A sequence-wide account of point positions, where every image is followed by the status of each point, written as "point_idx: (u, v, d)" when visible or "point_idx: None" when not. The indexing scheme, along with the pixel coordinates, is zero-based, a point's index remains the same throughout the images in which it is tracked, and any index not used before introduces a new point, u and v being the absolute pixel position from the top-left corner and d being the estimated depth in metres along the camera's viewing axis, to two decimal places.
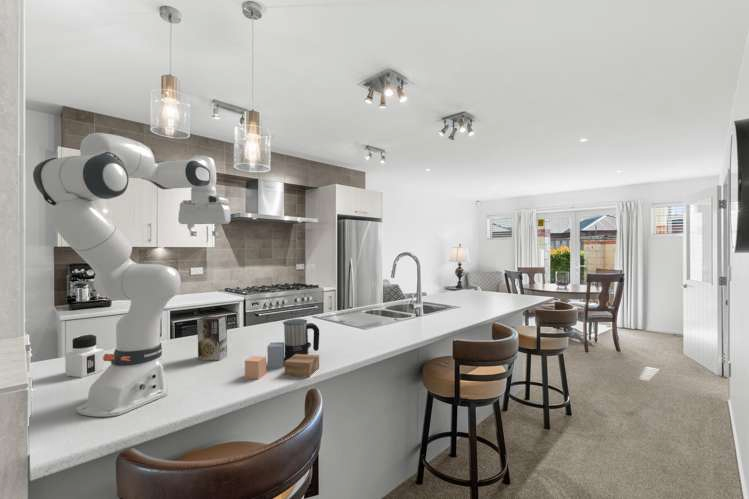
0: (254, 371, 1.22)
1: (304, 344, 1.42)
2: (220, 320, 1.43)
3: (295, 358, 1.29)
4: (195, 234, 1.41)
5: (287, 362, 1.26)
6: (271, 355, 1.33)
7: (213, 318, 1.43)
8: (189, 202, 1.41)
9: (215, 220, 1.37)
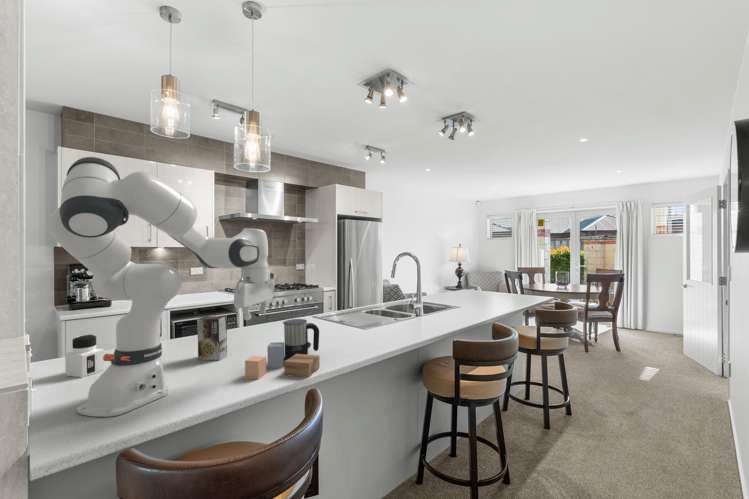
0: (254, 371, 1.22)
1: (304, 344, 1.42)
2: (220, 320, 1.43)
3: (295, 358, 1.29)
4: None
5: (287, 362, 1.26)
6: (271, 355, 1.33)
7: (213, 318, 1.43)
8: (246, 280, 1.19)
9: (268, 297, 1.30)
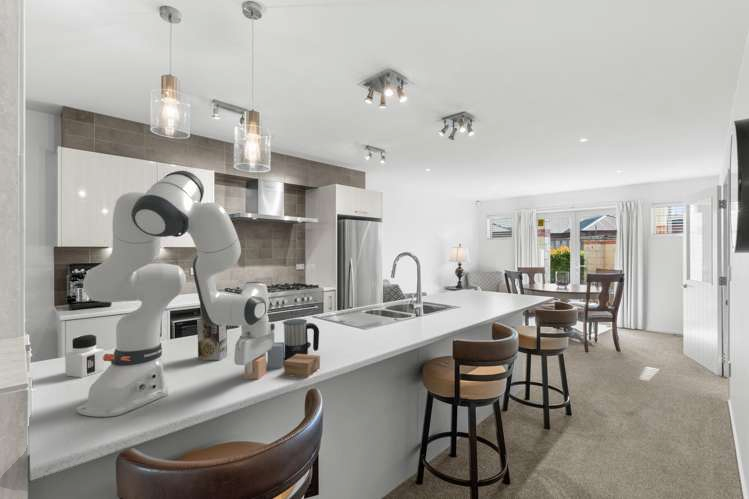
0: (254, 371, 1.22)
1: (304, 344, 1.42)
2: None
3: (296, 358, 1.29)
4: None
5: (286, 362, 1.26)
6: (271, 355, 1.33)
7: None
8: (247, 336, 1.19)
9: (268, 348, 1.31)
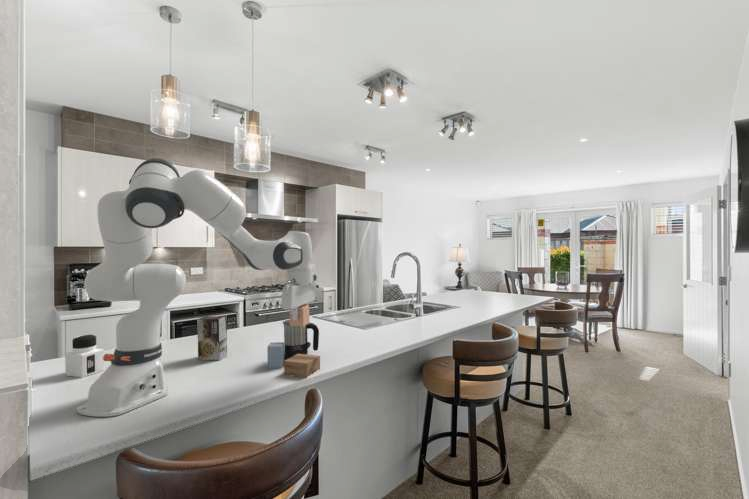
0: (299, 318, 1.24)
1: (304, 344, 1.42)
2: (220, 320, 1.43)
3: (296, 357, 1.30)
4: None
5: (286, 361, 1.26)
6: (271, 355, 1.33)
7: (213, 318, 1.43)
8: (292, 282, 1.21)
9: (311, 299, 1.32)
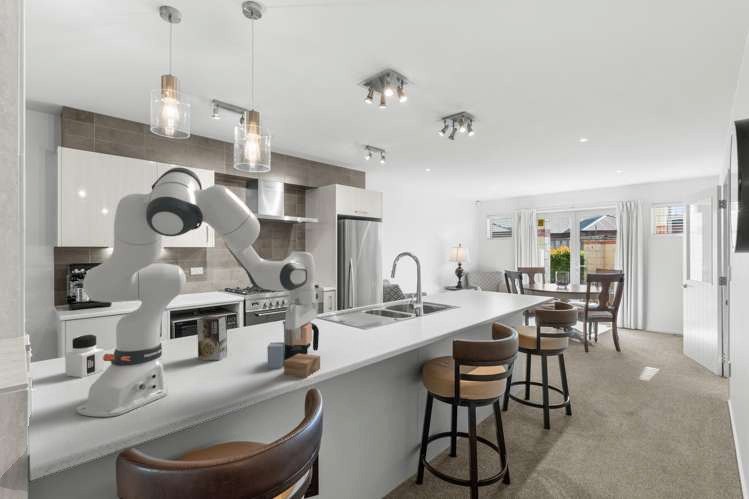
0: (302, 337, 1.26)
1: None
2: (220, 320, 1.43)
3: (296, 357, 1.30)
4: None
5: (286, 361, 1.26)
6: (271, 355, 1.33)
7: (213, 318, 1.43)
8: (296, 302, 1.22)
9: (313, 317, 1.34)
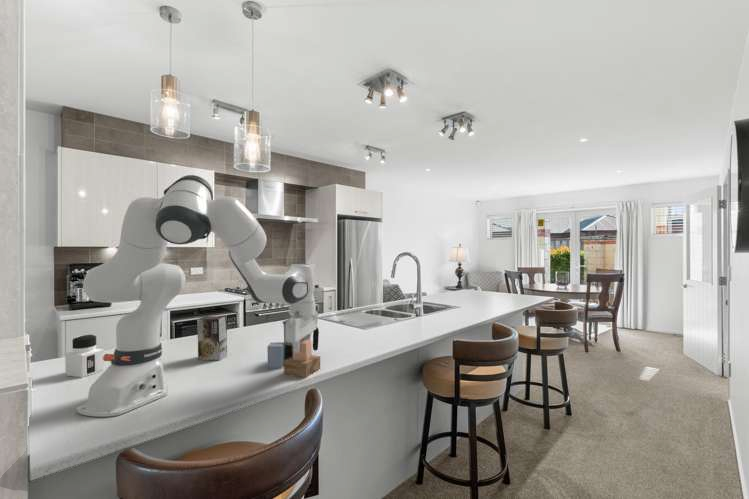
0: (302, 353, 1.26)
1: None
2: (220, 320, 1.43)
3: None
4: None
5: (286, 361, 1.26)
6: (271, 355, 1.33)
7: (213, 318, 1.43)
8: (296, 315, 1.23)
9: (313, 329, 1.34)
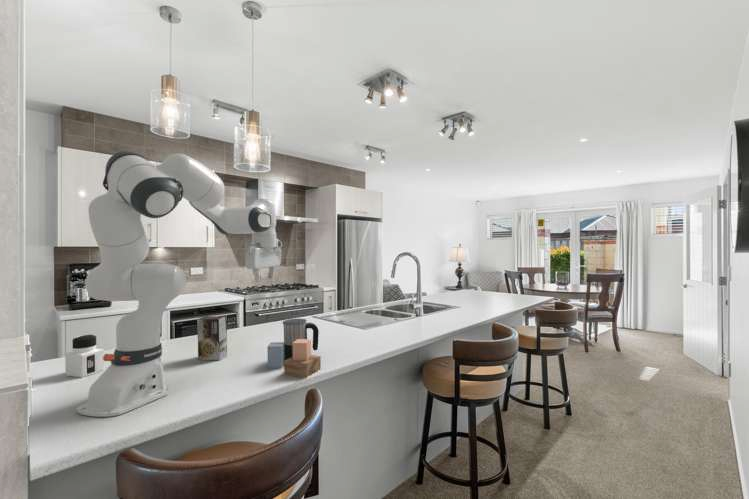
0: (302, 353, 1.27)
1: None
2: (220, 320, 1.43)
3: None
4: None
5: (286, 361, 1.26)
6: (271, 355, 1.33)
7: (213, 318, 1.43)
8: (256, 245, 1.33)
9: (276, 263, 1.45)
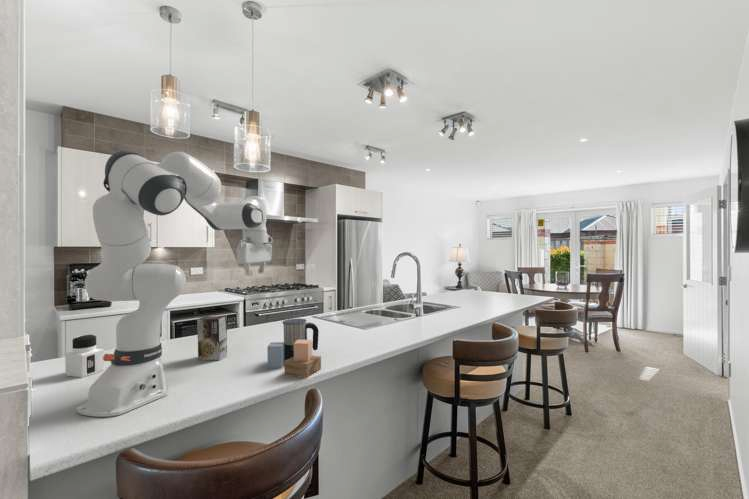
0: (304, 353, 1.26)
1: None
2: (220, 320, 1.43)
3: None
4: None
5: (287, 362, 1.26)
6: (271, 355, 1.33)
7: (213, 318, 1.43)
8: (247, 240, 1.36)
9: (266, 259, 1.47)
